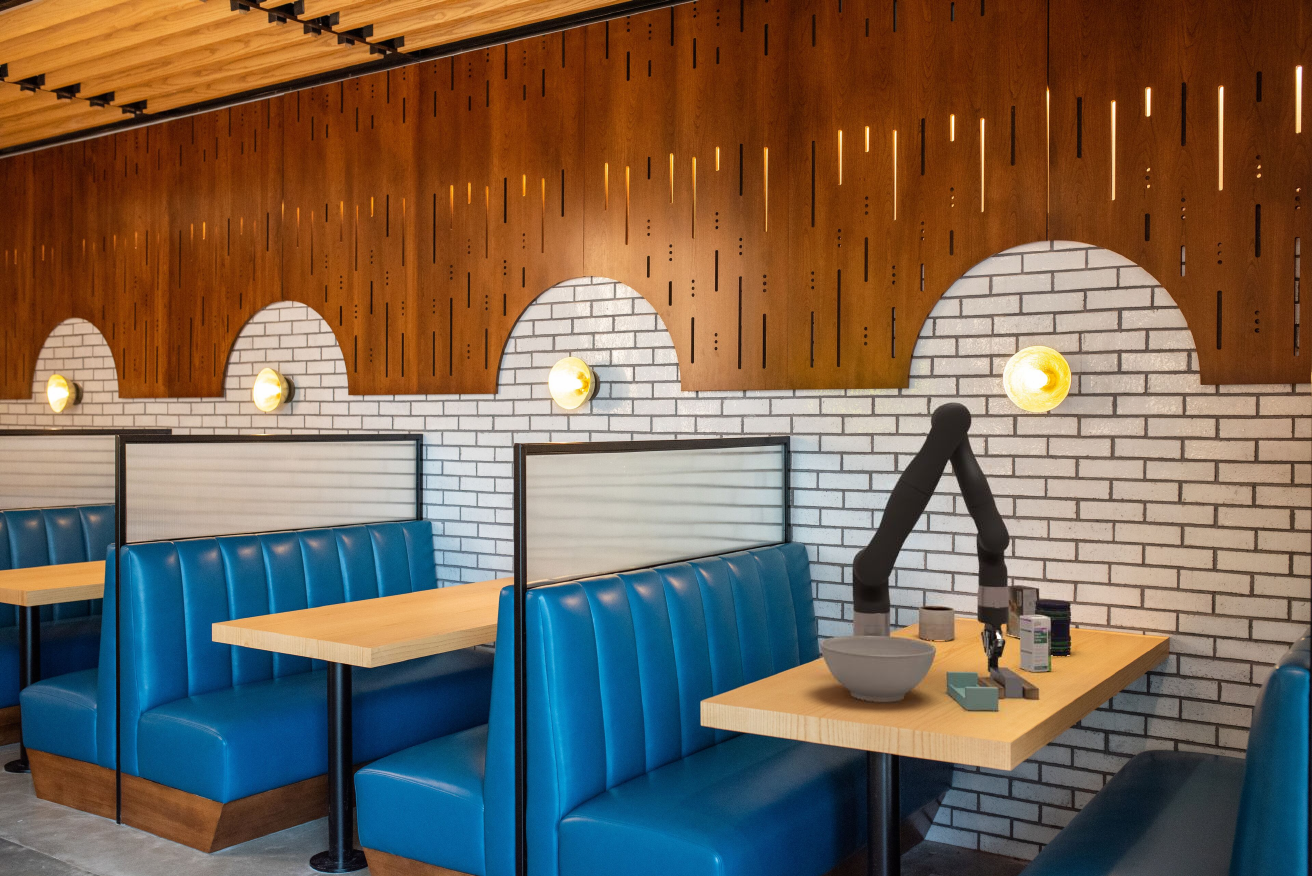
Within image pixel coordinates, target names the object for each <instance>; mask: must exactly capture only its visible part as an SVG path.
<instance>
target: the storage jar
mask: <svg viewBox="0 0 1312 876" xmlns="http://www.w3.org/2000/svg"><path fill="white" fill-rule="evenodd" d="M1035 604H1036V606H1035V609H1036V610H1035V614H1036V615H1044V616H1047V617H1050V619H1051V655H1053V656H1067V655H1070V654H1071V647H1072V636H1071V635H1070V634H1071V632H1070V631H1071V623H1072V612H1071V611H1072V608H1071V605H1072V604H1071V601H1065V600H1056V599H1039V600H1037V601H1035ZM1071 655H1072V654H1071Z"/></svg>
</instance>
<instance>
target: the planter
mask: <svg viewBox="0 0 1312 876" xmlns="http://www.w3.org/2000/svg"><path fill="white" fill-rule="evenodd" d="M955 635H956V634H955V609H954V608H953V607H950V606H949V607H948V606H941V605H940V606H939V605H922V606H920V607H918V637H919V638H920V639H921V638H922V639H921V640H923V639H928V640H951V639H953V640H954V639H955V637H956V636H955Z"/></svg>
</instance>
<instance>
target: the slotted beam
mask: <svg viewBox="0 0 1312 876" xmlns="http://www.w3.org/2000/svg"><path fill="white" fill-rule="evenodd" d="M978 686H980V687H997V688H998V700H1005V699H1006V698H1005V688H1004V687H1002V686H1001V685H999V684H998V683H997V682H995V681H994V680H993V679H991V678H990V676H988V677H986V676H984V677H983V676H978ZM1022 698H1024V699H1025V700H1040V688H1039V687H1038V686H1036V685H1035V684H1032V683H1031V682H1030V681H1028V680H1027V679H1025V678H1024V677H1022Z"/></svg>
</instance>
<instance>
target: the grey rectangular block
mask: <svg viewBox="0 0 1312 876" xmlns="http://www.w3.org/2000/svg"><path fill="white" fill-rule="evenodd" d="M989 675H990V676H989V677H990V678H991V679H993V680H994V681H995V682H997V683H998V684H999V685H1001V686H1002V687H1004V688H1005V699H1023V697H1022V678H1023V677H1022V676H1020V675H1019V674H1017V673H1016V672H1014V671H1013V670H1011V669H1010V668H1008V667H1001V666H1000V667H999V666H998V667H990V672H989Z"/></svg>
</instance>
